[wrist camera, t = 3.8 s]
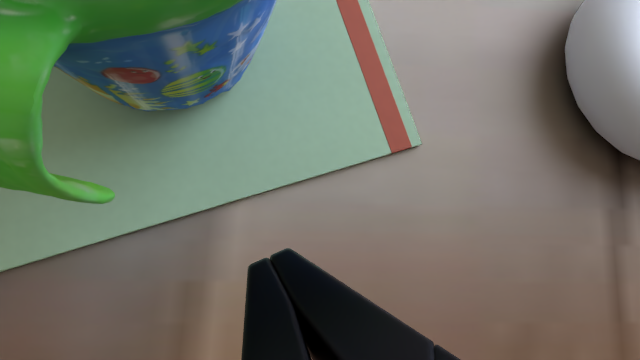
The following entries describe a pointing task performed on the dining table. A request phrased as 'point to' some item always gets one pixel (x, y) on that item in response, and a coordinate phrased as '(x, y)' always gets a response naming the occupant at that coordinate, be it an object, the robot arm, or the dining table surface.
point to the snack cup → (114, 67)
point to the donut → (607, 69)
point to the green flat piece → (216, 134)
